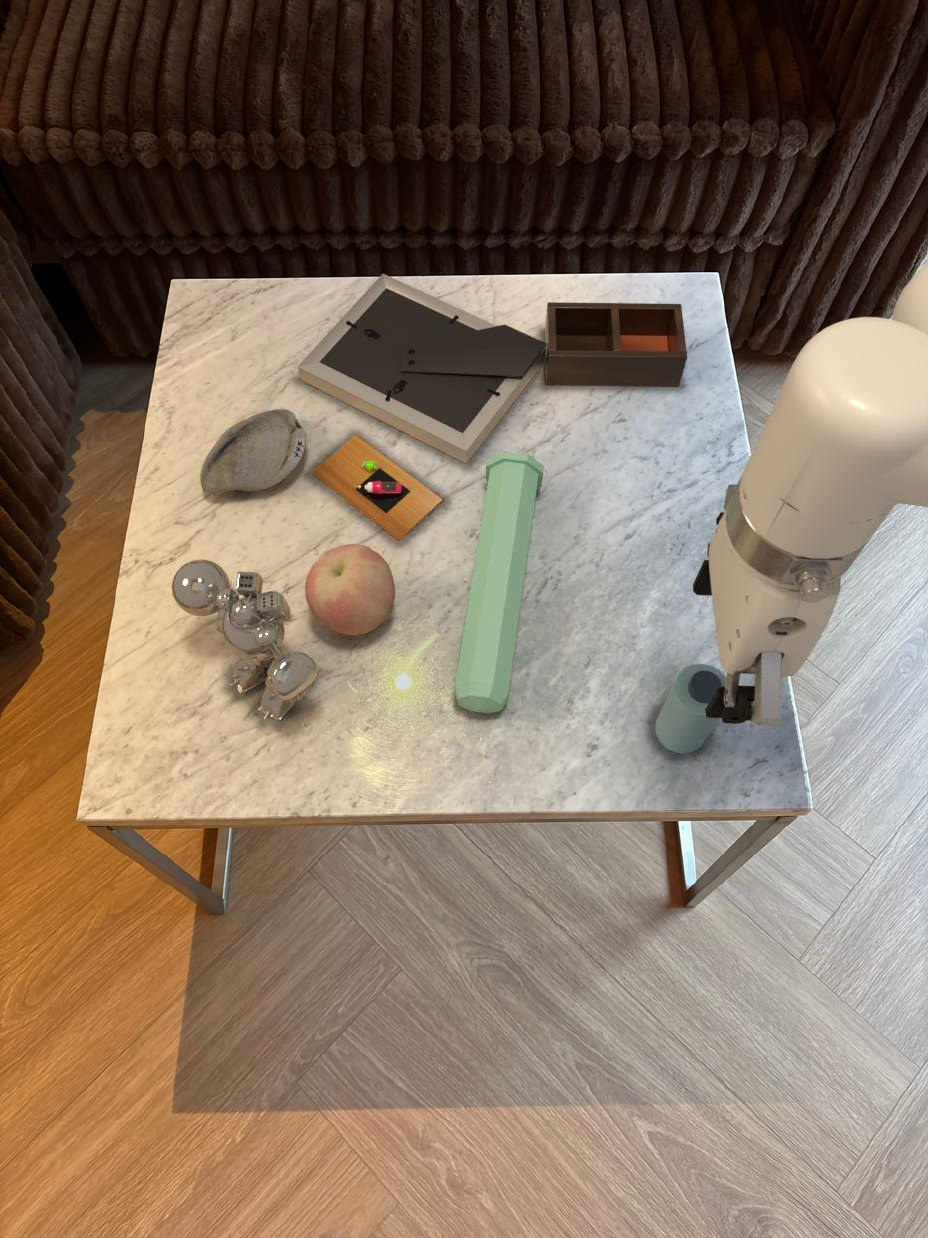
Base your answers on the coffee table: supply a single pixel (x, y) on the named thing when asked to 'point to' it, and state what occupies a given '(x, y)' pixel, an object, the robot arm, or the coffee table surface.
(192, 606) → the robot toy
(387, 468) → the board
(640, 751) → the coffee table surface
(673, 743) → the bottle
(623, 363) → the holder
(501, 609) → the container
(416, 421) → the picture frame
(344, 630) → the apple
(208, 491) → the seashell
